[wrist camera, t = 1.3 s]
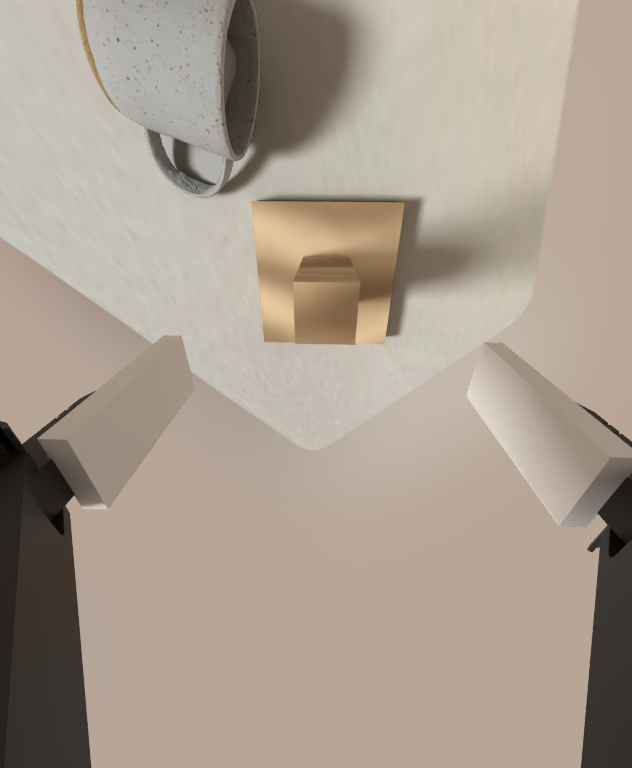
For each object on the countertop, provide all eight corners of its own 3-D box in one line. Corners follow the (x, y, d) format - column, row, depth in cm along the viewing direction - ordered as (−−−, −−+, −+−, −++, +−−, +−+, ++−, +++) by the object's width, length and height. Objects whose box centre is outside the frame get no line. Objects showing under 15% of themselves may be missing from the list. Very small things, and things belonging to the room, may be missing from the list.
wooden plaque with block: (254, 201, 24) (214, 202, 15) (401, 202, 24) (444, 204, 15) (266, 337, 30) (243, 391, 22) (382, 339, 30) (405, 395, 22)
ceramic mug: (138, -18, 18) (36, -130, 12) (267, 26, 19) (236, -56, 13) (150, 181, 24) (85, 177, 18) (248, 208, 25) (221, 214, 19)
